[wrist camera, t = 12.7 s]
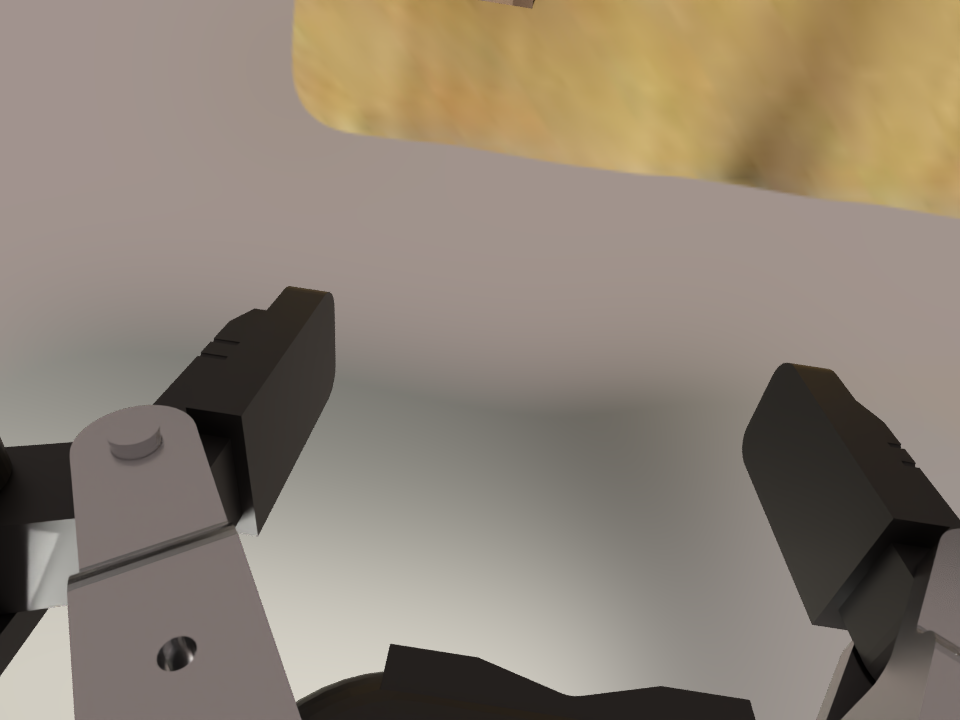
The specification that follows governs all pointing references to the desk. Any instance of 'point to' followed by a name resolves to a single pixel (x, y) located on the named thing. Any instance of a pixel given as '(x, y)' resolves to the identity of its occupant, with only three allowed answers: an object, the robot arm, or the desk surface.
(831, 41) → the desk surface
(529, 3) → the collar
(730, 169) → the desk surface
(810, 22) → the desk surface
